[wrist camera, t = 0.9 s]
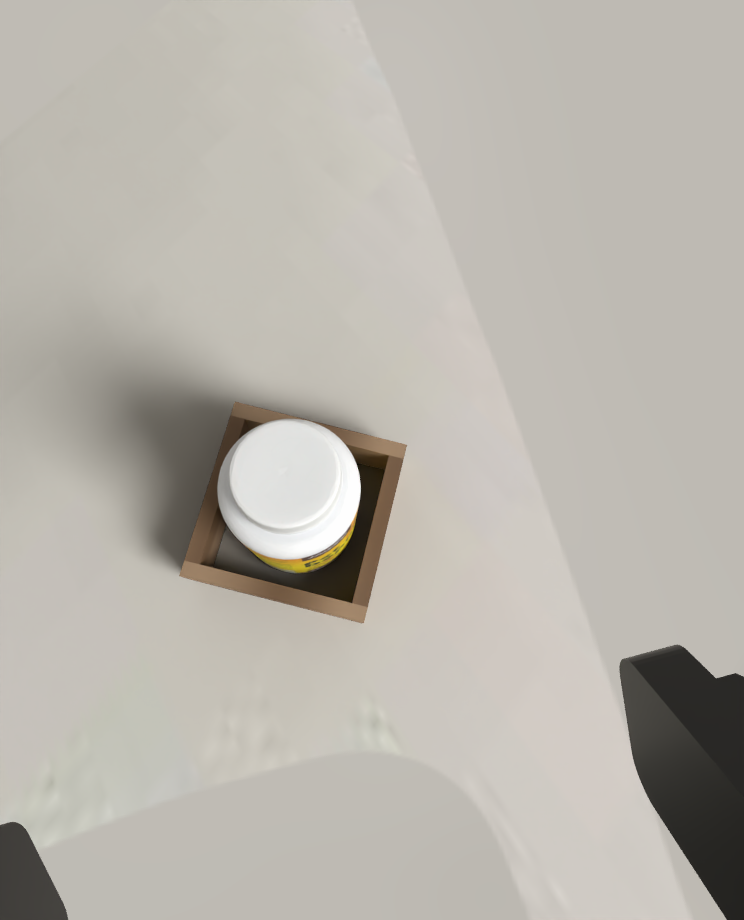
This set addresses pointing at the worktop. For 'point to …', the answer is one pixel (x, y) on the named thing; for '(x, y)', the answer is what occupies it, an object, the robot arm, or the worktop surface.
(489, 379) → the worktop surface
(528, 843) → the worktop surface
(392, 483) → the wooden box
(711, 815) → the robot arm
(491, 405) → the worktop surface
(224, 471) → the supplement bottle
